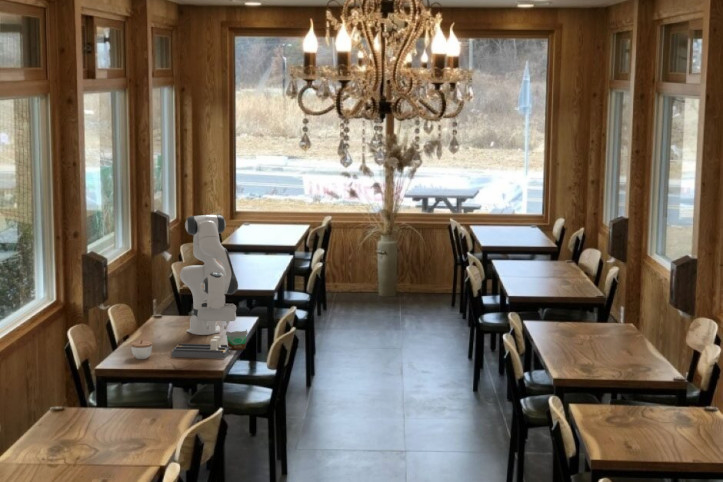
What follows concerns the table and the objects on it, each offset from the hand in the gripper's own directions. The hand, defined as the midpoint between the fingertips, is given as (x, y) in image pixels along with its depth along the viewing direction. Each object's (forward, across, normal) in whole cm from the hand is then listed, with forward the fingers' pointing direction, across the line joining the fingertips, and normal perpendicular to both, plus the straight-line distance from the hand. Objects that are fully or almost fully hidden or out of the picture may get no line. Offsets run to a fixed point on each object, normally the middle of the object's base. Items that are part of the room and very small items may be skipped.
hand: (216, 329), depth 564 cm
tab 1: (+10, 0, +6) cm, 12 cm away
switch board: (+13, +8, +3) cm, 16 cm away
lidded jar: (+14, +37, +12) cm, 41 cm away
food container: (+13, -10, -10) cm, 19 cm away
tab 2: (+10, 0, -1) cm, 10 cm away
